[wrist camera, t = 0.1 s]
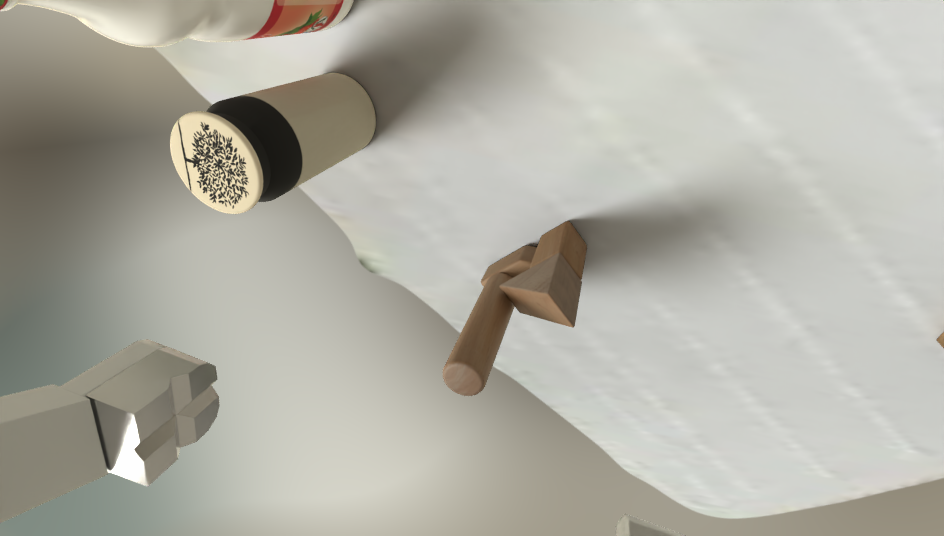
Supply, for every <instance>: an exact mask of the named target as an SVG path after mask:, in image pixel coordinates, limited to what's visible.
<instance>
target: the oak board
mask: <svg viewBox="0 0 944 536" xmlns="http://www.w3.org/2000/svg"><path fill="white" fill-rule="evenodd" d="M937 341H938V342H939V343H940V344H941V346H942V347H943V348H944V332H943V333H942V334H941V335H940V337H939V338H938V339H937Z"/></svg>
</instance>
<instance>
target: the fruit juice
mask: <svg viewBox="0 0 944 536" xmlns="http://www.w3.org/2000/svg"><path fill="white" fill-rule="evenodd" d="M353 1H354V0H0V11H6V10H9V9H11V8H13V7H14V6H15V5H16V4H24V5H32V6H38V7H43V8H47V9H51V10H55V11H58V12H62V13H65V14H68V15H71V16H74V17H76V18H77V19H79V20H80V21H81V22H83V23H84V24H85V25H87V26H88V27H90V28H91V29H93V30H94V31H96V32H98V33H100V34H101V35H103V36H106V37H107V38H109V39H112V40H114V41H117V42H120V43H123V44H127V45H132V46H137V47H164V46H168V45H172V44H175V43H178V42H180V41H182V40H184V39H186V38H191V39H194V40H199V41H205V42H233V41H240V40H247V39H255V38H264V37H273V36H282V35H291V34H300V33H309V32H317V31H323V30H326V29H329V28H331V27H333V26H335V25H337V24H338V23H339V22H340V21H342V20H343V19H344V17H345V16H346V15H347V14H348V12H349V10H350V9H351V6H352V4H353Z"/></svg>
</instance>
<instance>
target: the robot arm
mask: <svg viewBox="0 0 944 536" xmlns="http://www.w3.org/2000/svg"><path fill="white" fill-rule="evenodd" d="M216 380H217V373H216V367H215V366H214V365H212V364H210V363H207V362H205V361H202V360H200V359H197V358H195V357H192V356H190V355H187V354H185V353H182V352H180V351H177V350H175V349H172V348H170V347H167V346H164V345H161V344H159V343H156V342H154V341H151V340H148V339H146V340H140V341H136V342H134V343H133V344H131V345H129V346H128V347H126V348H124V349H123V350H121V351H119V352H117V353H116V354H114V355H112V356H111V357H109V358H107V359H106V360H104V361H102V362H100V363H99V364H97V365H95V366H94V367H92V368H90V369H89V370H87V371H85V372H84V373H82V374H80V375H79V376H77V377H75V378H73V379H72V380H70V381H68V382H67V383H65V384H63V385H62V386H60V387H59V386H56V385H48V386H44V387H40V388H35V389H31V390H27V391H23V392H18V393H14V394H10V395H6V396H2V397H0V523H1V522H4V521H6V520H8V519H10V518H12V517H15V516H17V515H19V514H21V513H23V512H26V511H28V510H30V509H32V508H34V507H37V506H39V505H41V504H43V503H46V502H48V501H50V500H52V499H54V498H57V497H59V496H61V495H63V494H66V493H68V492H70V491H72V490H74V489H77V488H79V487H81V486H83V485H85V484H88V483H90V482H92V481H94V480H97V479H99V478H101V477H103V476H105V475H107V474H108V471H109V472H111V473H114V474H116V475H119V476H122V477H124V478H127V479H130V480H132V481H135V482H137V483H140V484H142V485H145V486H149V485H150V484H151V483H152V482H154V481H155V480H156V479H157V478H158V477H159V476H160V475H161V474H162V473H163V472H164V471H165V470H167V469H168V468H169V467H170V466H171V465H172V464H173V463H174V462H175V461H176V460H177V459H178V456H179V451H180V447H183V446H186V445H189V444H192V443H195V442H197V441H198V440H199V439H200V438H201V437H202V436H203V435H204V434H205V433H206V432H207V431H208V430H209V428H210V427H211V425H212V423H213V422H214V420H215V419H216V417H217V413H218V409H219V396H218V395H217V393H216V391H215V390H214V389H213V387H212V384H213V383H214V382H215V381H216ZM616 536H684V535H683V534H681V533H678V532H676V531H673V530H670V529H667V528H664V527H661V526H658V525H656V524H652V523H650V522H647V521H644V520H641V519H638V518H636V517H633V516H630V515H627V514H624V515H623V516H622V517H621V518H620V520H619V522H618V523H617V525H616Z"/></svg>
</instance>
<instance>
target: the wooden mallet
mask: <svg viewBox="0 0 944 536" xmlns="http://www.w3.org/2000/svg"><path fill="white" fill-rule="evenodd" d="M586 251H587V245H586V243H585V242H584V240H583V239H582V238H581V236H580V235H579V234H578V232H577V231H576V229H575V228H574V227H573V225H572V224H571V223H570V222H569V221H567V222H564V223H563V224H561V225H559V226H557V227H556V228H554V229H552V230H551V231H549V232H547V233H545V234H544V235H542V236H541V238H540V241H539V244H538V246H537V247H533V246H528V245H526V246H523V247H521V248H520V249H518V250H516V251H515V252H513V253H511V254H509V255H508V256H506V257H504V258H502V259H501V260H499V261H497V262H496V263H494V264H492V265H490V266H489V267H488V269H487V271H486V273H485V275H484V276H483V278H482V280H481V283H482V285H483V286H484V288H483V290H482V292H481V294H480V296H479V298H478V300H477V302H476V304H475V306H474V308H473V310H472V312H471V314H470V316H469V318H468V320H467V322H466V324H465V326H464V328H463V330H462V332H461V334H460V337H459V339H458V340H457V342H456V344H455V346H454V348H453V350H452V353H451V354H450V356H449V358H448V360H447V362H446V364H445V366H444V368H443V379H444V382H445V383H446V385H447V386H448V387H449V388H450V389H451V390H452V391H454V392H456V393H458V394H461V395H464V396H472V395H476V394H478V393H479V392H481V391H482V390H483V388H484V387H485V385H486V382H487V379H488V376H489V374H490V371H491V369H492V366H493V363H494V360H495V358H496V355H497V352H498V350H499V347H500V344H501V341H502V339H503V336H504V333H505V331H506V328H507V325H508V323H509V320H510V317H511V314H512V312H513V309H514V306H515V307H516V308H517V310H518V311H519V312H520V313H523V314H527V315H530V316H534V317H537V318H541V319H544V320H548V321H552V322H555V323H559V324H562V325H566V326H569V327H574V326H575V320H576V314H577V308H578V302H579V296H580V290H581V284H582V281H581V279H582V274H583V268H584V262H585V256H586Z"/></svg>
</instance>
